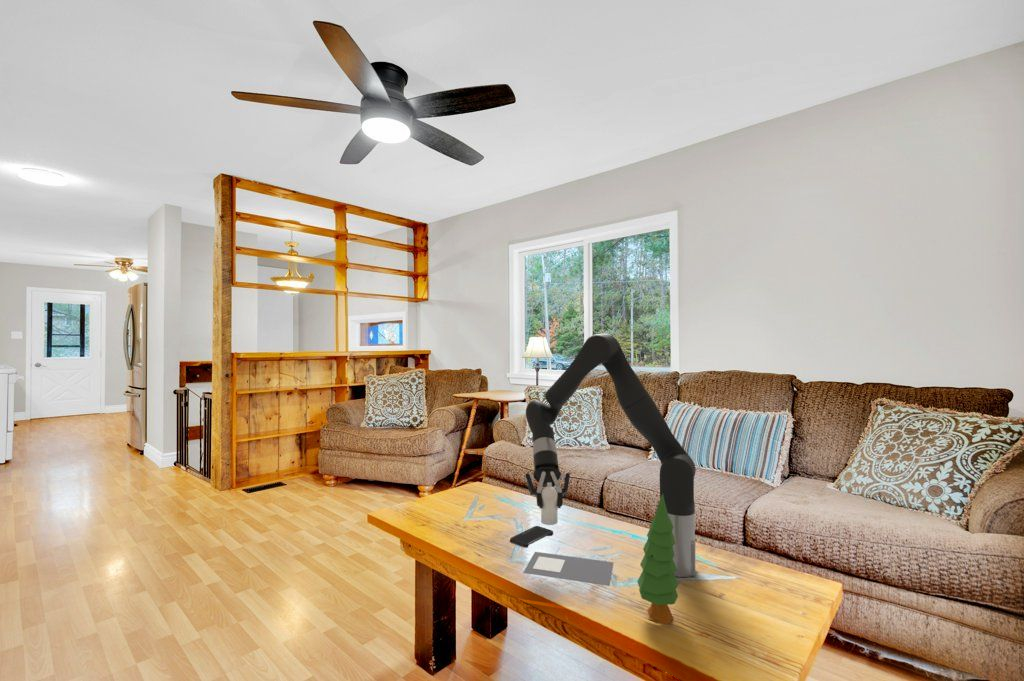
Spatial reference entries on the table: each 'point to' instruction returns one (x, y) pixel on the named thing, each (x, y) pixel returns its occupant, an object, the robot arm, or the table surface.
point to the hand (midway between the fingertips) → (550, 506)
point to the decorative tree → (659, 567)
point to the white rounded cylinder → (549, 505)
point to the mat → (570, 568)
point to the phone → (531, 536)
